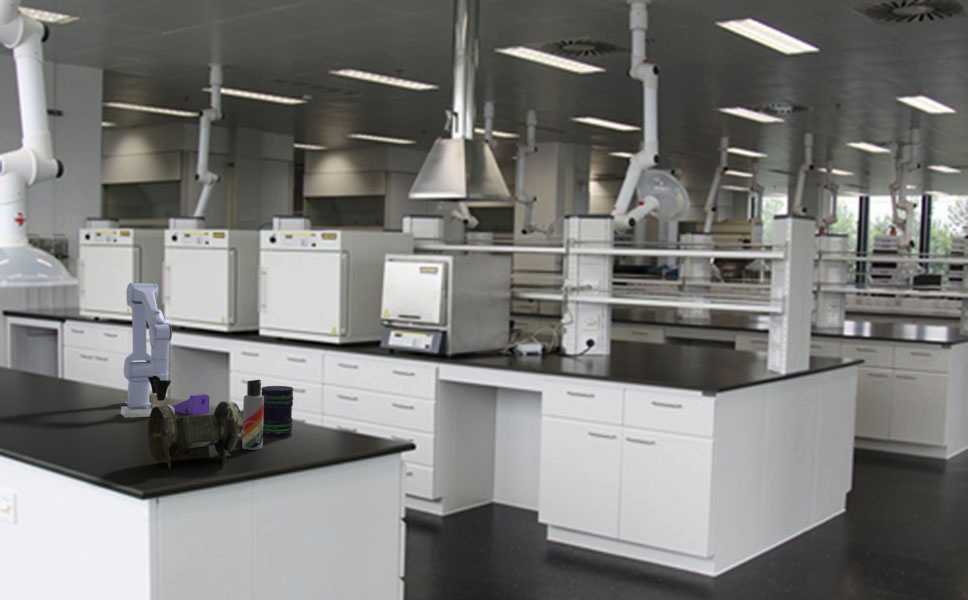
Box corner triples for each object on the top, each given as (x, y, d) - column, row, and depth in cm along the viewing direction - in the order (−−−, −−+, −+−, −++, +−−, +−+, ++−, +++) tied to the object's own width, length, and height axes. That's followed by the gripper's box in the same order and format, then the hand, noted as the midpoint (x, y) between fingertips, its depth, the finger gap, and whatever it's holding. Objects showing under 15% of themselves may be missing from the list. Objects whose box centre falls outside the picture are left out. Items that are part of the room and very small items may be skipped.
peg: (150, 413, 324) (151, 393, 323) (162, 413, 326) (163, 393, 326) (153, 415, 320) (153, 395, 320) (165, 415, 322) (166, 394, 322)
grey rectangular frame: (120, 413, 321) (121, 406, 321) (169, 411, 329) (169, 404, 329) (124, 417, 314) (125, 410, 314) (174, 415, 322) (174, 408, 322)
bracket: (209, 413, 330) (209, 394, 330) (193, 415, 325) (193, 395, 324) (186, 409, 337) (187, 390, 337) (170, 411, 331) (171, 392, 331)
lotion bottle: (252, 450, 269) (254, 381, 268) (237, 448, 272) (239, 379, 271) (266, 448, 274) (268, 379, 273) (252, 445, 277) (254, 377, 276)
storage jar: (281, 431, 299) (282, 385, 299) (298, 436, 292) (299, 388, 292) (253, 435, 292) (254, 387, 292) (270, 440, 285) (271, 391, 285)
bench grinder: (250, 455, 247) (242, 382, 254) (164, 458, 234) (159, 382, 241) (223, 475, 262) (216, 406, 269) (141, 479, 249) (136, 406, 256)
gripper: (143, 357, 327) (142, 396, 327) (151, 361, 314) (150, 402, 315) (164, 356, 330) (163, 395, 331) (173, 361, 318) (172, 401, 318)
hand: (158, 398), depth 323 cm, fingers open, 7 cm apart
